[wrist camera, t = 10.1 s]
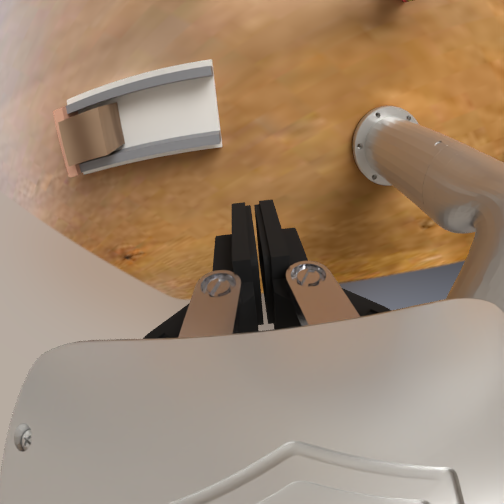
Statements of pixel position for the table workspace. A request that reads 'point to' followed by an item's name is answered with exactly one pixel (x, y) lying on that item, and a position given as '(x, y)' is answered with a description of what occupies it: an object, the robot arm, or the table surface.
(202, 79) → the chute
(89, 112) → the walnut block
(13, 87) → the table surface
